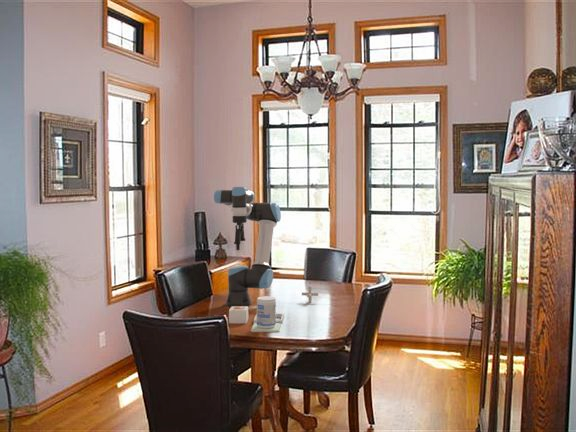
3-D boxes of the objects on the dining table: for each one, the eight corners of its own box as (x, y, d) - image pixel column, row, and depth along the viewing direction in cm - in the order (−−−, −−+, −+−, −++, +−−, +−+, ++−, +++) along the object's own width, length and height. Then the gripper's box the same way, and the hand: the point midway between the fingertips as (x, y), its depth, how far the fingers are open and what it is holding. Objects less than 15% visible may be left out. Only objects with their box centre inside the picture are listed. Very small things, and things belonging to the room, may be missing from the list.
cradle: (256, 317, 313) (256, 313, 313) (284, 317, 312) (284, 313, 312) (253, 323, 298) (253, 320, 298) (282, 324, 298) (282, 320, 297)
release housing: (231, 319, 309) (231, 306, 309) (248, 319, 309) (248, 306, 308) (229, 323, 300) (228, 310, 300) (246, 323, 300) (246, 310, 299)
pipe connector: (316, 304, 343) (316, 287, 342) (300, 303, 345) (300, 287, 344) (319, 300, 353) (319, 284, 352) (303, 300, 355) (303, 284, 354)
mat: (254, 324, 297) (254, 323, 297) (281, 324, 296) (281, 323, 296) (250, 331, 283) (250, 330, 283) (279, 332, 282) (279, 330, 282)
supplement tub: (256, 329, 285) (255, 299, 284) (257, 324, 294) (257, 296, 293) (275, 329, 285) (275, 299, 284) (276, 324, 294) (275, 295, 293)
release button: (235, 315, 307) (235, 306, 306) (243, 315, 306) (243, 306, 306) (233, 317, 302) (233, 308, 302) (242, 317, 302) (242, 308, 301)
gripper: (235, 213, 321) (236, 251, 323) (228, 216, 296) (229, 257, 298) (249, 213, 321) (249, 251, 322) (243, 216, 296) (243, 257, 297)
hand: (240, 254), depth 310 cm, fingers open, 13 cm apart
